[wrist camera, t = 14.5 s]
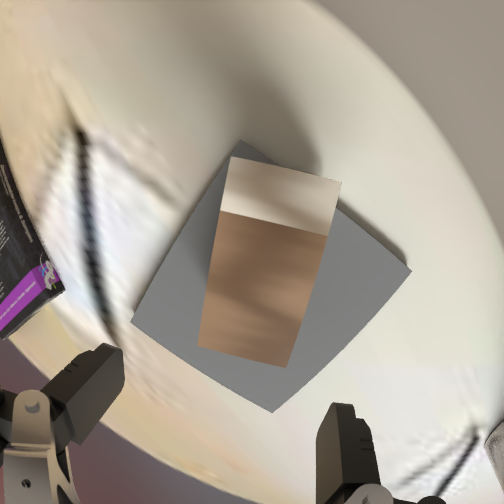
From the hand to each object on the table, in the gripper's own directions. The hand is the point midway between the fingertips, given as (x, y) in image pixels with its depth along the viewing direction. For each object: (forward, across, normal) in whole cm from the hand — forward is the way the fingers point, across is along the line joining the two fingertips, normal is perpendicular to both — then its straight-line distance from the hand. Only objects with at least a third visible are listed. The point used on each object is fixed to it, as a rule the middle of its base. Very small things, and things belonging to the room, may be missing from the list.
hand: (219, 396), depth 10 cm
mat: (+11, 0, +1) cm, 11 cm away
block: (+8, 0, +2) cm, 8 cm away
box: (+12, +29, +2) cm, 31 cm away
